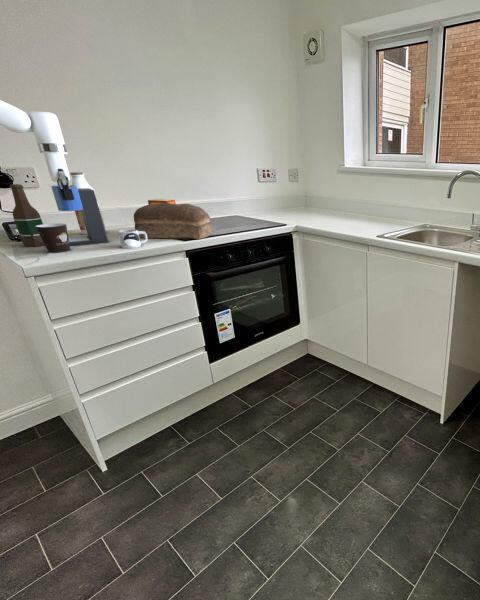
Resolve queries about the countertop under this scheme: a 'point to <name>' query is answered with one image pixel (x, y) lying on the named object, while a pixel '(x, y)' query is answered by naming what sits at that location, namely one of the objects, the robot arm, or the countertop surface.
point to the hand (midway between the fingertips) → (67, 198)
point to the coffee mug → (53, 237)
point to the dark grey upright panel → (90, 220)
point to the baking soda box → (161, 201)
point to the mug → (131, 238)
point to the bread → (172, 221)
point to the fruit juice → (80, 183)
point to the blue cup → (67, 204)
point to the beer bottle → (25, 217)
